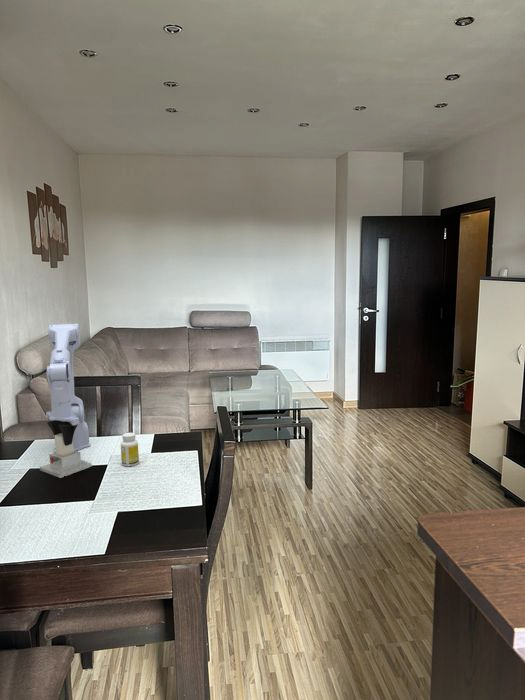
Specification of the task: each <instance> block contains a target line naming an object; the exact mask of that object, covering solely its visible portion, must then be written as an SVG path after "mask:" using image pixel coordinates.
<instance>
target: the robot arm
mask: <svg viewBox="0 0 525 700" xmlns="http://www.w3.org/2000/svg"><path fill="white" fill-rule="evenodd" d="M80 333H81V331H80V325H79V324H78V322H77V323H64V324H61V323H60V324H52V323H51V324H49V325H48V329H47V334H48V335H47V336H48V340H49V343H50V346H51V348H52V349H53V350H52V351H51V353H50V360H49V365H47V366H46V379H47V381H48V388H49V391H50V392H49V393H50V394H49V395H50V404H51V406H50V407H51V411H45V412H46V413H45V415H46V416H45V419H48V420H49V421H47V425H48V426H49V428H50V430H51V431H52V434H53V437H54V438H55V435H57V434H60V433H62V435H63V440H64V444H65V446H67V445H70V444H72V440H73V447H74V450H75V451H79V450H81V449H85V448H88V447H91V446H92V445H91V443H90V432H89V426H88V423H87V422H86V421H85V409H84V402H83V400H82V399H81V398H80V397H78V396H76V395H75V373H74V353H75V350H76V349H78V348H80V344H81V343H80V341H81V337H80V336H81V335H80ZM54 449H55V450H56V448H54Z"/></svg>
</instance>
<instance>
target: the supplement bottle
mask: <svg viewBox="0 0 525 700" xmlns="http://www.w3.org/2000/svg"><path fill="white" fill-rule="evenodd" d="M121 437H122V441H121V442H120V455H121V464H122V466H124V467H133V466H136V465H138V464H139V463H140V459H139V457H140V456H139V455H140V454H139V441H138V439H136V433H134V432H126V433H123V434H122V435H121Z"/></svg>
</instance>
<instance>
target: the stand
mask: <svg viewBox="0 0 525 700" xmlns="http://www.w3.org/2000/svg"><path fill="white" fill-rule="evenodd" d="M48 455H49V463H47V464H45V465H42V466H40V467H39V471H41V472H44V473H47V474H49V475H51V476H54V477H57V478H59V479H61V478H64V476H65V477H67V476H70V475H72V474H74V473H77V472H80V471H83V470H86V469H88V468H90V467H92V462H89V461H85V460H82V455H81V451H79V450H76V451H75V450H74V453H73V454H70V455H67V456H64V457H62V456H59V455H56V451H55V452H52V453H49V454H48Z"/></svg>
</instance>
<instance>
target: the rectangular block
mask: <svg viewBox="0 0 525 700" xmlns="http://www.w3.org/2000/svg"><path fill="white" fill-rule="evenodd" d="M54 446H55V448H56V449H55V448H54V449H55V452H56V455H59V456H62V457H64V456H67V455H70V454H73V453H74V447H73V440H72V444H70V445H67V446H65V444H64V440H63V435H62V433H60V434H57V435H55V437H54Z"/></svg>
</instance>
